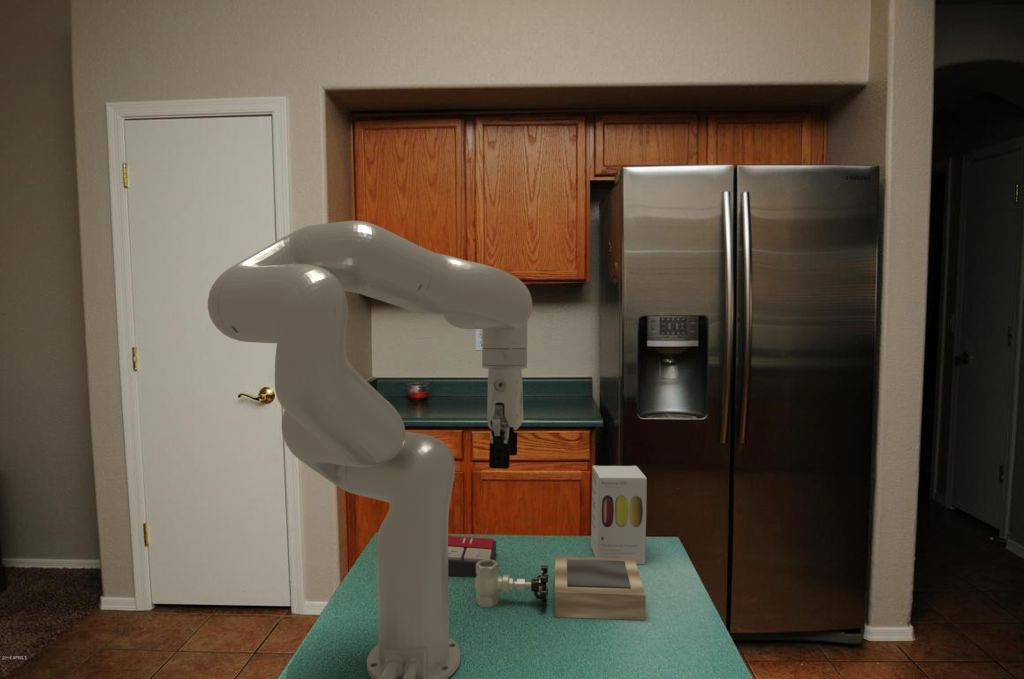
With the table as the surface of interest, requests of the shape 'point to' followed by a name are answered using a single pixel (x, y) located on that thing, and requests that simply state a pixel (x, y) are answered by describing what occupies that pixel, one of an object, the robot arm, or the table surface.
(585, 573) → the tapered tan tray
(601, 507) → the supplement box
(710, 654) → the table surface
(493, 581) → the valve
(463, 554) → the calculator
